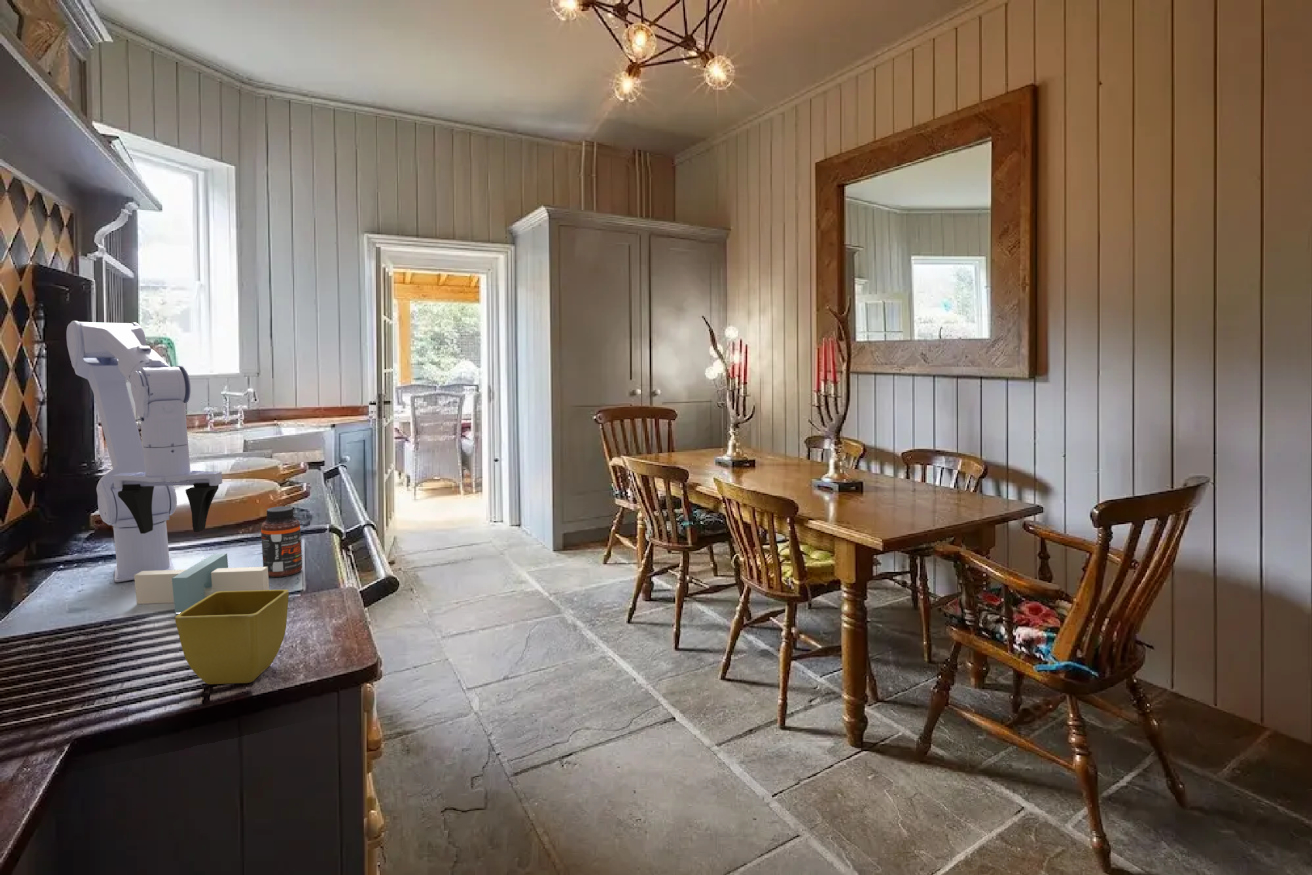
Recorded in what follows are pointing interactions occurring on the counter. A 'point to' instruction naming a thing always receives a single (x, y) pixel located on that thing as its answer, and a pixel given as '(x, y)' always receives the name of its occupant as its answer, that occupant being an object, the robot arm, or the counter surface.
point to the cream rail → (223, 579)
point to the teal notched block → (195, 581)
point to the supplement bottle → (281, 542)
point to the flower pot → (233, 634)
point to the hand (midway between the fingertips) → (173, 531)
